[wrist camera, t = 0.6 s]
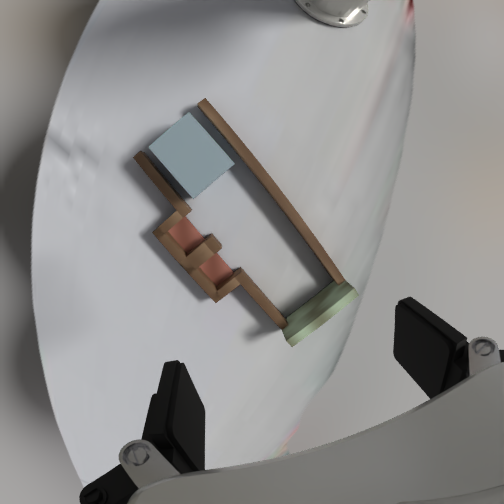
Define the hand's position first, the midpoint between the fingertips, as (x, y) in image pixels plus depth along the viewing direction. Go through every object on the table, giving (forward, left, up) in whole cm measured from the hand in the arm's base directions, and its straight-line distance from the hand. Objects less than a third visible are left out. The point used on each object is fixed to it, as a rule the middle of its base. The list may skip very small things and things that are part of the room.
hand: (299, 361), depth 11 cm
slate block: (-1, -12, -28) cm, 30 cm away
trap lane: (+1, -1, -27) cm, 27 cm away
